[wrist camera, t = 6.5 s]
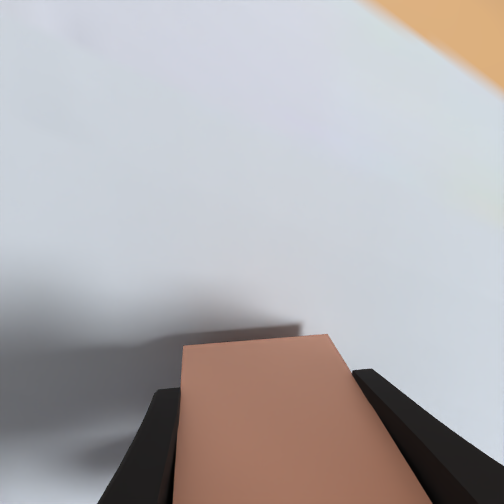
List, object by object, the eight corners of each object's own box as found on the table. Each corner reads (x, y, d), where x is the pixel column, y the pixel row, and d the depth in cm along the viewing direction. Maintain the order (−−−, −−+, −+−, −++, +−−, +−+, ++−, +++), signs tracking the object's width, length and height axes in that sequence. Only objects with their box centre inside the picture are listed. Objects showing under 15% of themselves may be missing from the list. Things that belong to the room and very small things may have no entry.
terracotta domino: (323, 370, 12) (515, 746, 5) (185, 383, 11) (164, 850, 4) (327, 334, 12) (551, 695, 4) (183, 345, 11) (151, 808, 4)
